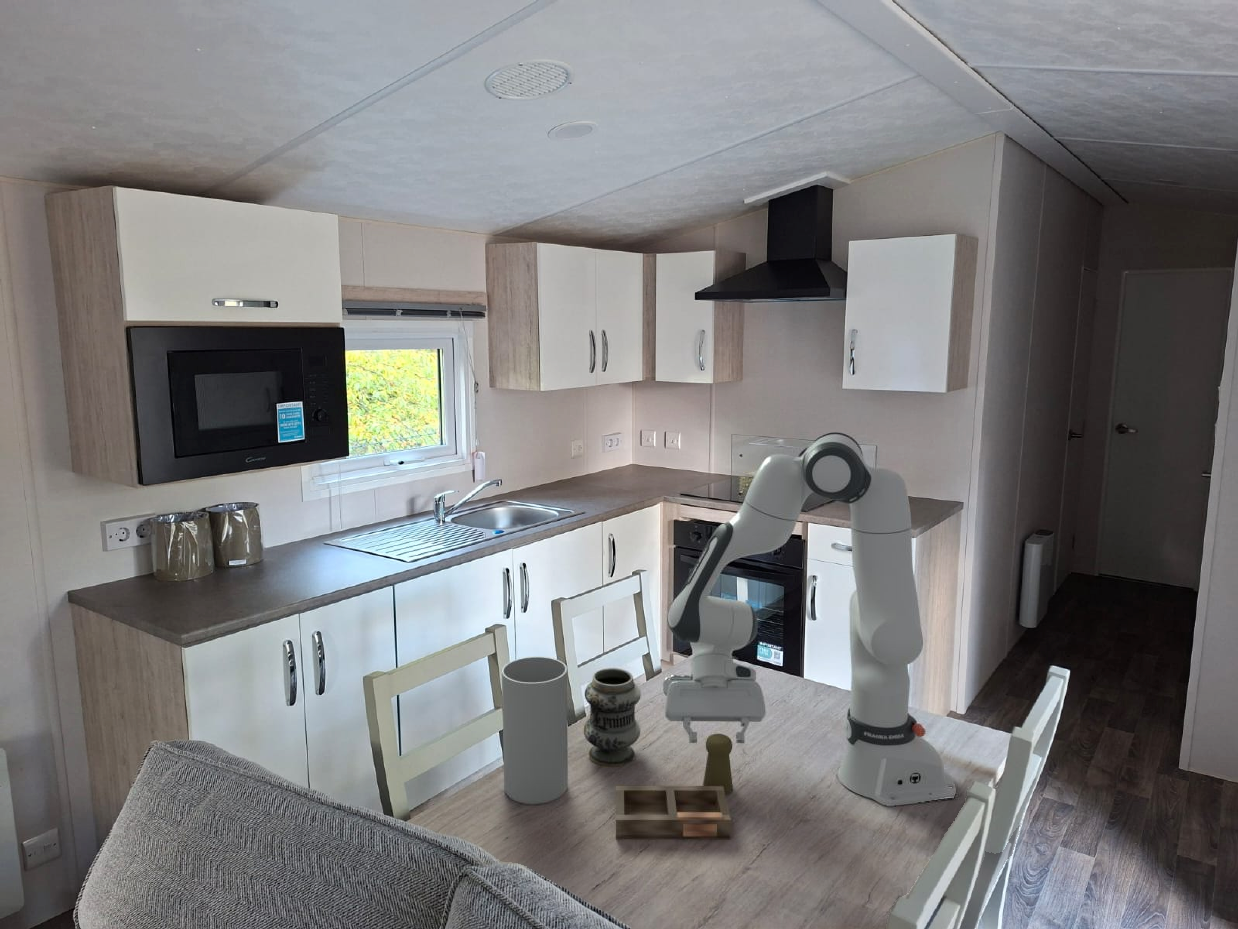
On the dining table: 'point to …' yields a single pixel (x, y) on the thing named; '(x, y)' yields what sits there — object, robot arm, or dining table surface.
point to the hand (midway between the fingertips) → (716, 742)
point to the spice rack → (672, 812)
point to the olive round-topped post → (718, 762)
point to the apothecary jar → (612, 717)
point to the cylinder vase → (535, 729)
